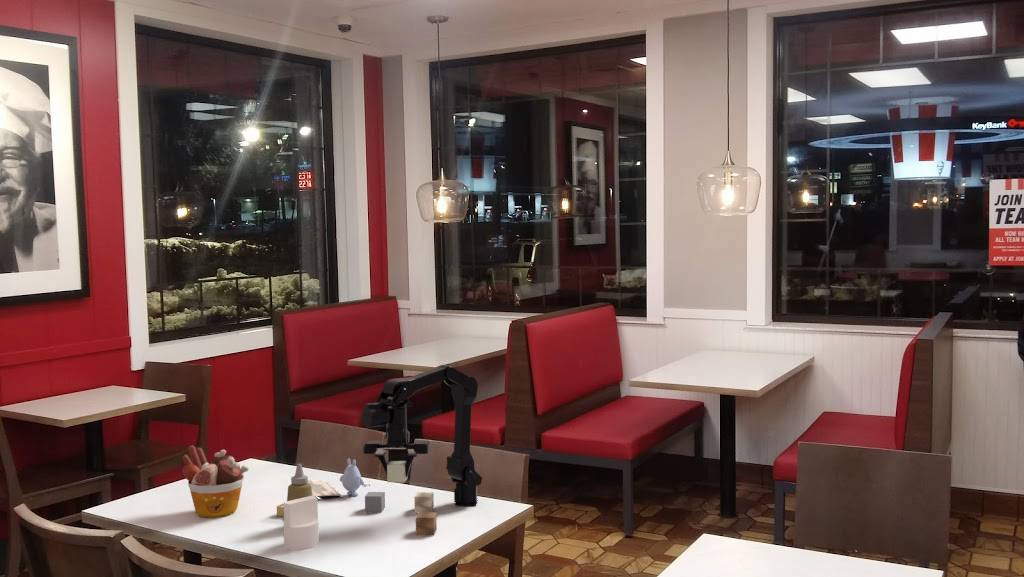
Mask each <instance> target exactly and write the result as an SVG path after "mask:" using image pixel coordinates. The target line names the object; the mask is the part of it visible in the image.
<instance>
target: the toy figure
mask: <svg viewBox="0 0 1024 577" xmlns="http://www.w3.org/2000/svg"><path fill="white" fill-rule="evenodd" d="M346 463H347V466H346V468H345V470H344V472H343V474H342V475H340V478H339V482H341V483H342V486H343V488H344V489H345V490H346V491H347V492H346V495H348V496H353V497H358V496H359V493H358V492H356V491H357V490H358V489H359V488H360V487H361V486H362V487H363V486H364V485H365V481H364V480H363V479H362V475H361V473H360V471H359V469H358V467H357V466H356V464H357V460H356V459H354V458H353V459H352V461H351V458H350V457H349V458H347V459H346ZM351 494H352V495H351ZM357 495H358V496H357Z"/></svg>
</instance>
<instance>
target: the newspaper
mask: <svg viewBox="0 0 1024 577" xmlns="http://www.w3.org/2000/svg"><path fill="white" fill-rule="evenodd" d="M325 481H326V480H323V479H321V480H314V479H313V480H308V482H307V483H309V484H311V488H312V496H315V497H316V496H319V497H331V496H332V497H340V498H341V496H342V497H343V496H344V495H342V494H341V493H340V492H338V491H336V488H335V487H333V486H332V485H331V484H330V483H329V482H328V483H329V484H330V485H331V486H332V487H331V486H330V485H329V484H328V483H326V482H325ZM317 501H320V500H319V499H318V498H317Z"/></svg>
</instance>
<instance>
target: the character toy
mask: <svg viewBox="0 0 1024 577" xmlns="http://www.w3.org/2000/svg"><path fill="white" fill-rule="evenodd" d="M276 516H279V517H280V516H281V517H284V502H283V503H280V504H278V505H276Z"/></svg>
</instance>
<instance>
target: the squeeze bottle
mask: <svg viewBox="0 0 1024 577" xmlns="http://www.w3.org/2000/svg"><path fill="white" fill-rule="evenodd" d="M308 478H309V476H308V475H305V474H304V469H303V467H302V463H296V468H295V474H294V475H292V476H291V477H290V480H291V481H290V482H291V484H289V485H288V487H287V496H286V502H287V501H291V500H295V499H300V498H304V497H309V496H312V488H311V484H309V483H307V482H308V481H309V479H308Z"/></svg>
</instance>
